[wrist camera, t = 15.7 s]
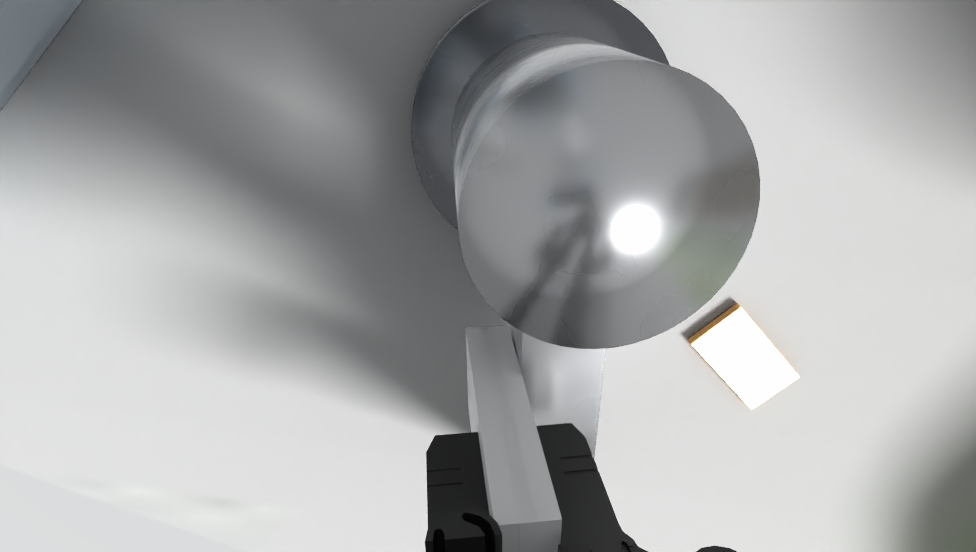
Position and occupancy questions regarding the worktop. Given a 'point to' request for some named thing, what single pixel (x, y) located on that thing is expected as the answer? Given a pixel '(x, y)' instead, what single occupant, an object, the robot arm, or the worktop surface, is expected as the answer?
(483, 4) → the crank base
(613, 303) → the crank
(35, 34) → the tray
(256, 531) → the worktop surface
